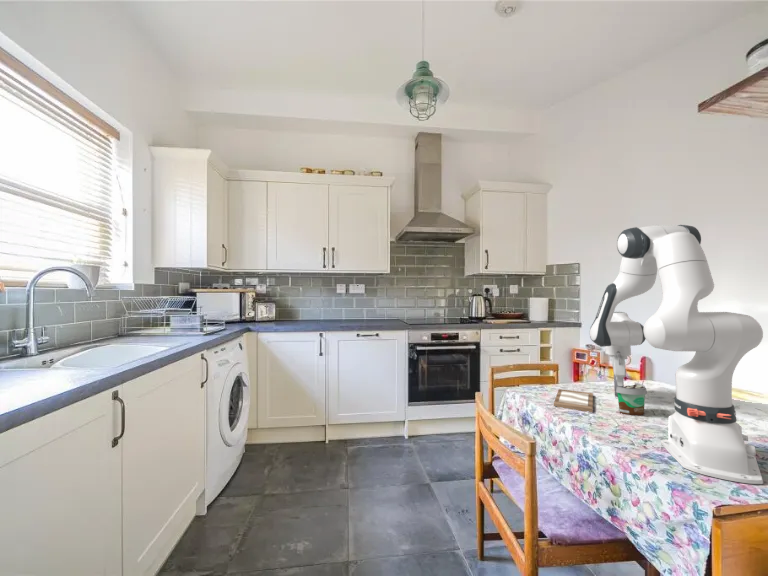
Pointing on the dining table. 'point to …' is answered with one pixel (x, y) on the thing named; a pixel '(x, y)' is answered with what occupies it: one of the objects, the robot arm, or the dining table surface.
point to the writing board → (574, 400)
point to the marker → (616, 385)
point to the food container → (631, 399)
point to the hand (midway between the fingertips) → (619, 383)
